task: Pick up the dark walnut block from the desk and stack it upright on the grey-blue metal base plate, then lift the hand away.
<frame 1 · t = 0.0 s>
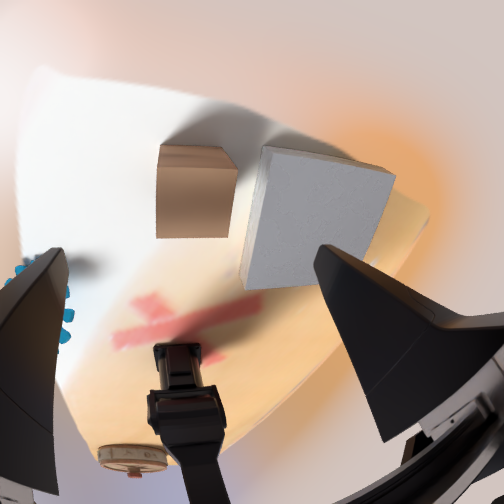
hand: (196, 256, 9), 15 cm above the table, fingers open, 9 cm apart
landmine: (131, 451, 64), on the table
walnut block: (188, 174, 22), on the table
base plate: (313, 219, 28), on the table
blue spiky blob: (40, 284, 23), on the table
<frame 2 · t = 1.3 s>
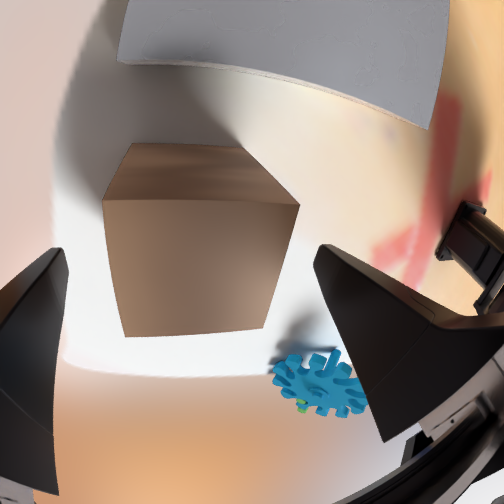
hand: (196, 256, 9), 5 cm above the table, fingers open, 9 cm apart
walnut block: (183, 195, 12), on the table
blue spiky blob: (303, 359, 26), on the table
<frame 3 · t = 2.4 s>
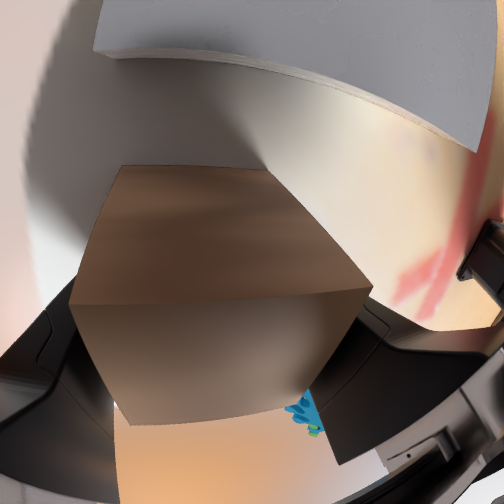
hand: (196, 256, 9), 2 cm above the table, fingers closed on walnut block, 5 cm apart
walnut block: (191, 231, 10), on the table, touching gripper
blue spiky blob: (317, 384, 23), on the table
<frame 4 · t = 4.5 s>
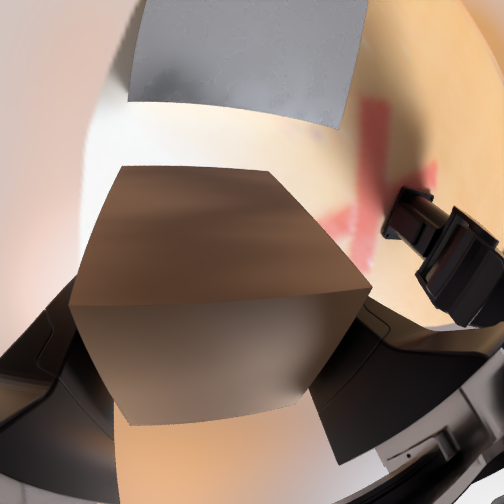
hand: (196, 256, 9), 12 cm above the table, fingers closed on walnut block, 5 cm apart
walnut block: (191, 231, 10), point 10 cm above the table, touching gripper
base plate: (254, 17, 13), on the table
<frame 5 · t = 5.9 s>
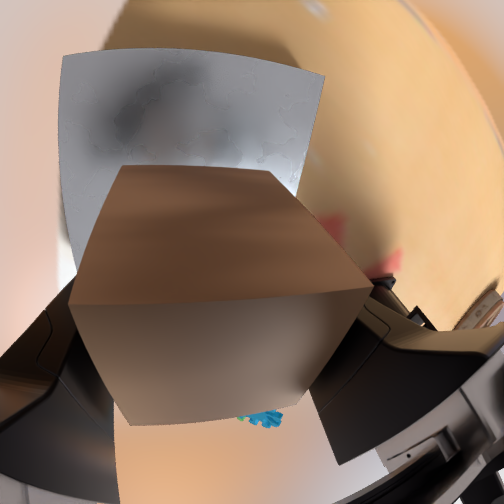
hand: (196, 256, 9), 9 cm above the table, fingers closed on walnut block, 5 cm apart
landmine: (470, 316, 63), on the table
walnut block: (191, 231, 10), point 8 cm above the table, touching gripper
base plate: (179, 164, 16), on the table
blue spiky blob: (240, 383, 36), on the table
when the fingers open (5 cm above the table, at t = 7.0 s): walnut block stays where it is, resting on base plate.
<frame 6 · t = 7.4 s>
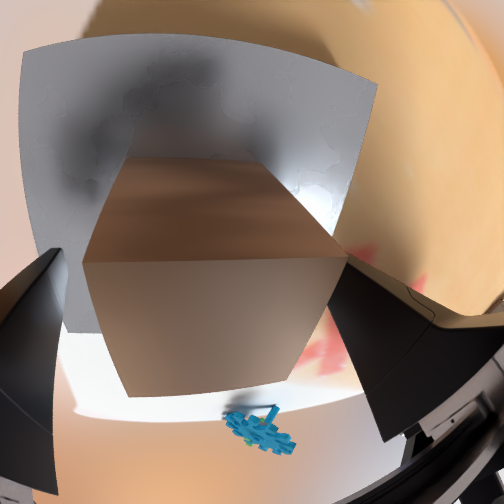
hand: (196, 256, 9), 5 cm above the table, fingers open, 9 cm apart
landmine: (478, 326, 59), on the table
walnut block: (189, 219, 11), point 2 cm above the table, touching base plate
base plate: (184, 193, 12), on the table
blue spiky blob: (250, 411, 32), on the table
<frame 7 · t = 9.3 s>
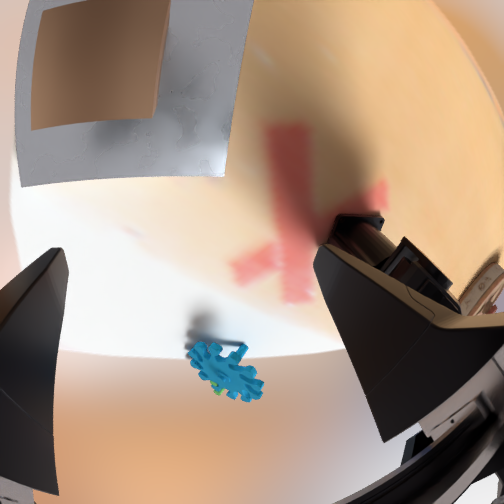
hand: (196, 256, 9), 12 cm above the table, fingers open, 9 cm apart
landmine: (473, 292, 60), on the table
walnut block: (118, 65, 11), point 2 cm above the table, touching base plate
base plate: (124, 66, 13), on the table
blue spiky blob: (216, 349, 33), on the table
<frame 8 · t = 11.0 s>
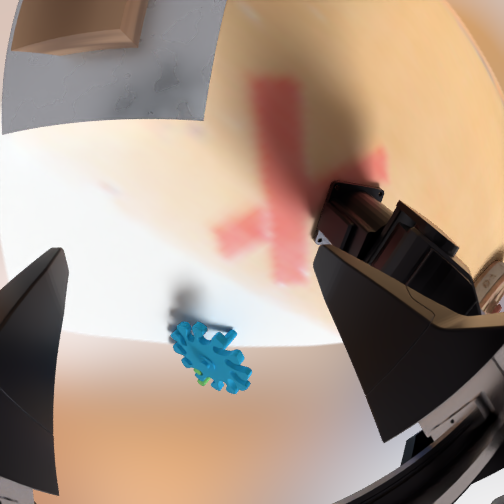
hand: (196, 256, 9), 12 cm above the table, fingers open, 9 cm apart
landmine: (477, 291, 57), on the table
walnut block: (104, 13, 9), point 2 cm above the table, touching base plate
base plate: (112, 21, 10), on the table
blue spiky blob: (202, 334, 30), on the table
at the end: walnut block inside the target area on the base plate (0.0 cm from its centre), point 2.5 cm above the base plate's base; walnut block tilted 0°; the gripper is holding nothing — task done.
